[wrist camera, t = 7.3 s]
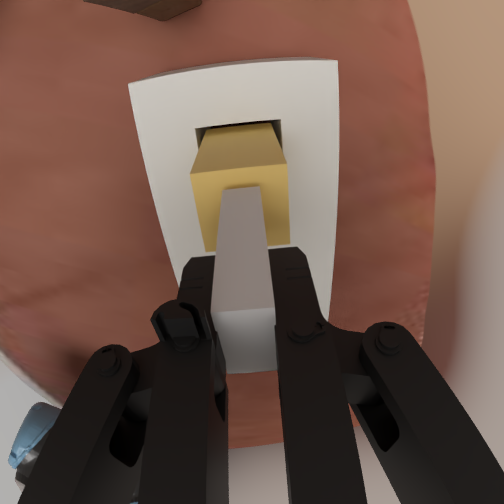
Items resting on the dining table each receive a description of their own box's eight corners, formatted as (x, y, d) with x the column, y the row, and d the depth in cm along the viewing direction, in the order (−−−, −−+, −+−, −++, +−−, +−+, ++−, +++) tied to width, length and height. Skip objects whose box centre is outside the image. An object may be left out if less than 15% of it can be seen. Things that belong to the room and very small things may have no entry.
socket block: (311, 285, 36) (325, 340, 29) (206, 295, 36) (201, 351, 30) (309, 56, 22) (337, 60, 15) (159, 73, 22) (127, 83, 15)
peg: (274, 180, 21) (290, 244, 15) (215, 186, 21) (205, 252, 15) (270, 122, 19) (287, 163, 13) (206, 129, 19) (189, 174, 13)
